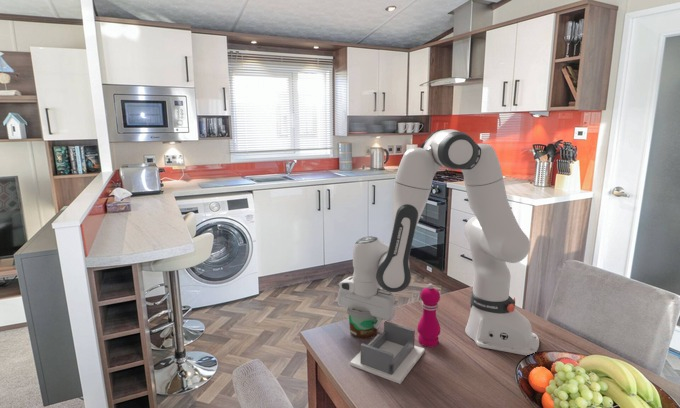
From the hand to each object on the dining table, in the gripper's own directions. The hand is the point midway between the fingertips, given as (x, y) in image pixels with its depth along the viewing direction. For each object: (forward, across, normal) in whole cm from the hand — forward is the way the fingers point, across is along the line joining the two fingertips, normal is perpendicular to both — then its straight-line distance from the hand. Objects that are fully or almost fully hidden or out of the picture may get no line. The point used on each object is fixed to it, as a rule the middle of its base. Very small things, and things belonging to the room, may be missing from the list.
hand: (365, 324), depth 130 cm
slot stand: (+4, -12, +8) cm, 15 cm away
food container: (+4, 0, 0) cm, 4 cm away
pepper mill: (+4, -19, -7) cm, 21 cm away
